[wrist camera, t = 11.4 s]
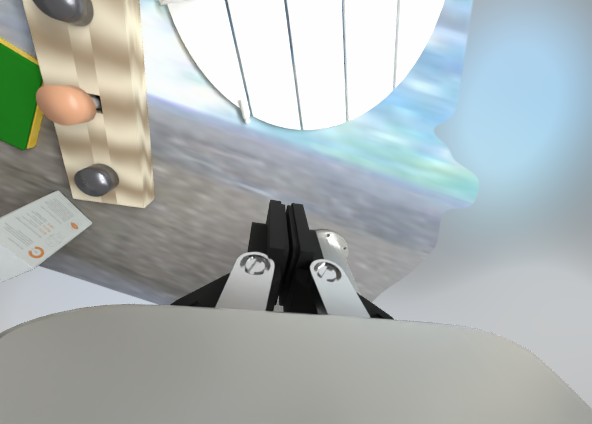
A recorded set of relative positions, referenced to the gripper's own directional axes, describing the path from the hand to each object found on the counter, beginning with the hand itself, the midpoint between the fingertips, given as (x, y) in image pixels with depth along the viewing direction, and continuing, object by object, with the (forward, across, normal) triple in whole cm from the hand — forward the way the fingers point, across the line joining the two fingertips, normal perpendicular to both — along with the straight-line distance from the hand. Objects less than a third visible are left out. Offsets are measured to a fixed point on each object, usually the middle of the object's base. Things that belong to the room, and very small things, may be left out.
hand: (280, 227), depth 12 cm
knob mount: (+32, +26, +1) cm, 41 cm away
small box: (+32, +37, +23) cm, 54 cm away
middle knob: (+29, +26, +1) cm, 39 cm away
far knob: (+32, +26, +12) cm, 43 cm away
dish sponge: (+33, +39, +3) cm, 51 cm away
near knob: (+32, +26, -10) cm, 42 cm away
